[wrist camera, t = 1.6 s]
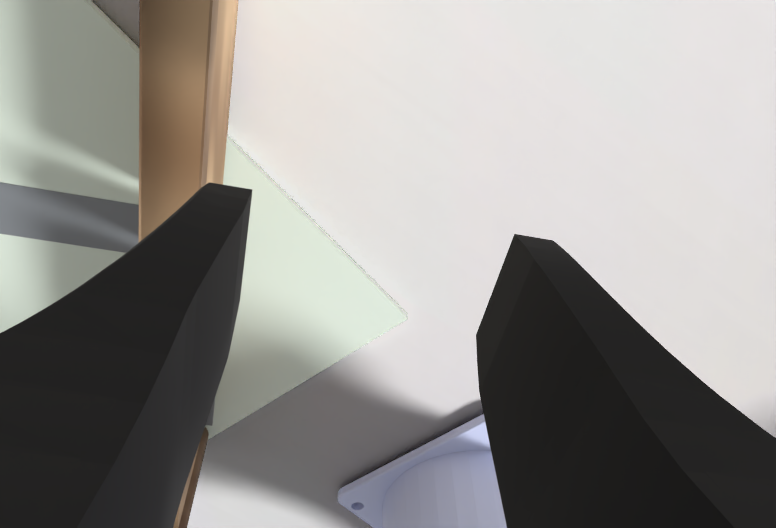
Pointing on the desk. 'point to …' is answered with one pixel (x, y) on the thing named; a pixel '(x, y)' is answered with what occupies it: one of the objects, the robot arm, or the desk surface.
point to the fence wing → (182, 101)
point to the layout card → (121, 209)
